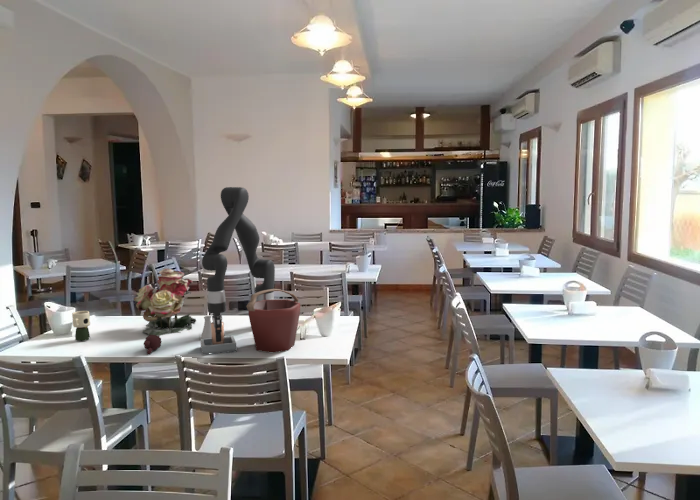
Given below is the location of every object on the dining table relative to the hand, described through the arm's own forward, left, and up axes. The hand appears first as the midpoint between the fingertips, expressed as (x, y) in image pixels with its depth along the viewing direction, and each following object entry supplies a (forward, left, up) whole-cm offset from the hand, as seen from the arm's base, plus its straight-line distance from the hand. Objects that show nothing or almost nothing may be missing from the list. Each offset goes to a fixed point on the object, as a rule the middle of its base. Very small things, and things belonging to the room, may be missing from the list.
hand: (218, 339), depth 244 cm
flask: (+3, -20, -4) cm, 21 cm away
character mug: (+58, -36, -4) cm, 68 cm away
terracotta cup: (0, 0, -2) cm, 2 cm away
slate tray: (0, 0, -4) cm, 4 cm away
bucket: (-23, +4, -4) cm, 24 cm away
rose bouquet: (+21, -43, -4) cm, 49 cm away
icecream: (+27, -9, -4) cm, 29 cm away
